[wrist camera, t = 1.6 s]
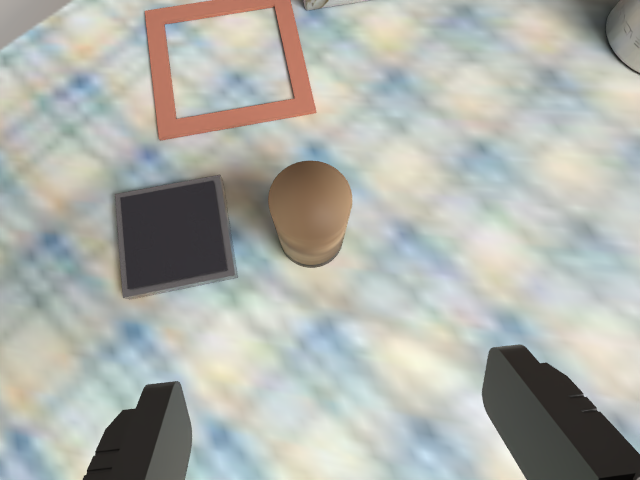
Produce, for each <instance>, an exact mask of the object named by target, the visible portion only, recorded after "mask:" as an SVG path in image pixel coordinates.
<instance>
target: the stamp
mask: <svg viewBox="0 0 640 480" xmlns="http://www.w3.org/2000/svg"><path fill="white" fill-rule="evenodd" d="M268 203H269V209H270V213H271V216H272V219H273V222H274V225H275V228H276V231H277V234H278V237H279V240H280V243H281V246H282V248H283V251H284V252H285V254H286V255H287V257H288V258H289V259H290V260H291V261H293V262H294V263H296V264H298V265H300V266H303V267H309V268H314V267H320V266H323V265H325V264H327V263H329V262H330V261H332V260H333V259H334V258H335V257H336V256H337V254H338V253H339V251H340V249H341V246H342V243H343V239H344V235H345V231H346V227H347V223H348V219H349V215H350V211H351V207H352V193H351V189H350V186H349V184H348V182H347V180H346V179H345V177H344V176H343V175H342V174H341V173H340V172H339V171H338V170H337V169H335V168H334V167H332V166H330V165H328V164H326V163H323V162H319V161H302V162H298V163H295V164H292V165H290V166H288V167H287V168H285V169H284V170H283V171H282V172H280V173H279V174H278V176H277V177H276V178H275V180H274V181H273V183H272V185H271V188H270V191H269V196H268Z"/></svg>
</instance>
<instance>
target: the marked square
mask: <svg viewBox="0 0 640 480" xmlns="http://www.w3.org/2000/svg"><path fill="white" fill-rule="evenodd" d="M271 7H275V11H276V15H277V20H278V24H279V29H280V34H281V38H282V43H283V47H284V52H285V56H286V61H287V66H288V70H289V75H290V79H291V84H292V88H293V93H294V97H295V99H290V100H284V101H278V102H273V103H267V104H261V105H255V106H250V107H244V108H238V109H232V110H227V111H221V112H215V113H209V114H203V115H198V116H192V117H186V118H180V119H176V111H175V103H174V95H173V88H172V80H171V72H170V64H169V56H168V48H167V40H166V32H165V25H164V24H170V23H177V22H183V21H189V20H196V19H202V18H208V17H215V16H221V15H227V14H234V13H240V12H246V11H253V10H259V9H265V8H271ZM145 18H146V27H147V36H148V45H149V54H150V63H151V72H152V80H153V89H154V98H155V107H156V116H157V125H158V134H159V139H160V140H166V139H172V138H177V137H183V136H189V135H194V134H200V133H206V132H211V131H217V130H223V129H228V128H234V127H240V126H245V125H251V124H257V123H262V122H268V121H274V120H279V119H285V118H291V117H296V116H302V115H308V114H313V113H316V108H315V104H314V100H313V95H312V91H311V87H310V82H309V78H308V74H307V70H306V65H305V61H304V57H303V52H302V48H301V44H300V40H299V35H298V31H297V27H296V22H295V18H294V14H293V9H292V5H291V1H290V0H212V1H205V2H199V3H193V4H186V5H180V6H173V7H167V8H160V9H154V10H148V11H145Z"/></svg>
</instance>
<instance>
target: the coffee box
mask: <svg viewBox="0 0 640 480" xmlns="http://www.w3.org/2000/svg"><path fill="white" fill-rule="evenodd" d="M362 1H369V0H303V2H304V6H305V9H306V10H313V9H319V8H325V7H331V6H337V5H344V4H350V3H356V2H362Z"/></svg>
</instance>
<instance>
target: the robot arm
mask: <svg viewBox="0 0 640 480" xmlns="http://www.w3.org/2000/svg"><path fill="white" fill-rule="evenodd" d="M606 33H607V38H608V41H609V43H610V46H611V47H612V49H613V50H614V52H615V54H616V55H617V56H618V57H619V58H620V59H621V60H622V61H623V62H624V63H625V64H627V65H628V66H629V67H630V68H632V69H633V70H635V71H637V72H639V73H640V0H620V1H619V2H618V4H617V5H616V6H615V7H614V8H613V9H612V10H611V12H610V14H609V16H608V18H607V23H606ZM482 398H483V403H484V407H485V410H486V412H487V414H488V416H489V418H490V420H491V421H492V423H493V425H494V426H495V428H496V430H497V431H498V433H499V435H500V436H501V438H502V439H503V441H504V443H505V444H506V446H507V448H508V449H509V451H510V453H511V454H512V456H513V458H514V459H515V461H516V463H517V464H518V466H519V468H520V469H521V471H522V473H523V474H524V476H525V478H526V479H527V480H640V454H639V453H638V452H637V451H636V450H635V449H634V448H633V447H632V445H631V444H630V443H629V442H628V441H627V440H626V439H625V438H624V437H623V436H622V435H621V434H620V433H619V431H618V430H617V429H616V428H615V427H614V426H613V425H612V424H611V423H610V422H609V421H608V420H607V418H606V417H605V416H604V415H603V414H602V413H601V412H598V411H597V408H596V407H595V406H594V404H593V403H592V402H591V401H590V400H589V399H588V398H587V397H584V395H583V393H582V391H581V390H580V389H579V388H578V387H577V386H576V385H575V384H574V383H573V382H572V381H571V380H570V379H569V377H568V376H566V375H565V374H563V373H562V372H560V371H558V370H557V369H555V368H554V367H552V366H551V365H549V364H548V363H539V362H538V361H537V359H536V358H535V357H534V356H533V355H532V354H531V353H530V351H529V350H528V349H527V348H526V347H525V346H523V345H511V346H502V347H493V348H491V349H490V351H489V354H488V359H487V365H486V371H485V377H484V382H483V388H482ZM191 446H192V427H191V422H190V418H189V414H188V410H187V406H186V402H185V398H184V395H183V391H182V387H181V384H180V382H178V381H175V382H166V383H157V384H148V385H146V386H145V387H144V389H143V391H142V394H141V396H140V399H139V401H138V404H137V407H136V409H128V410H122V412H121V413H120V414H119V415H118V416H117V417H116V418H115V419H114V421H113V422H112V423H111V424H110V425H109V426H108V427H107V428H106V430H105V432H104V434H103V436H102V438H101V440H100V443H99V445H98V447H97V449H96V451H95V452H96V454H95V456H93V458H92V460H91V463H90V465H89V467H88V469H87V475H85V476H84V478H83V480H185V476H186V472H187V467H188V462H189V457H190V453H191Z"/></svg>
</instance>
